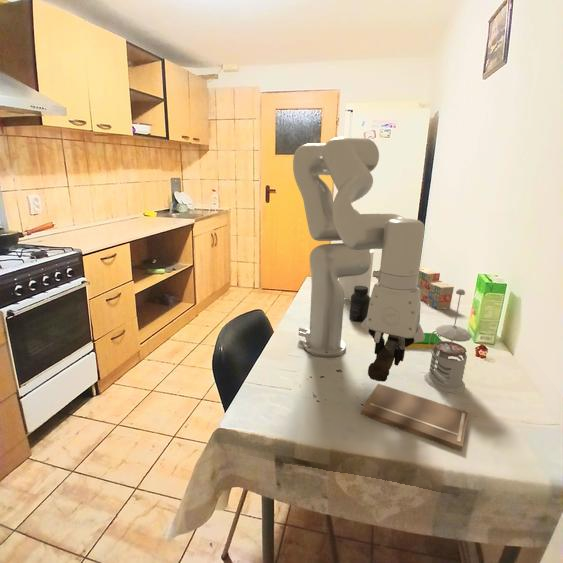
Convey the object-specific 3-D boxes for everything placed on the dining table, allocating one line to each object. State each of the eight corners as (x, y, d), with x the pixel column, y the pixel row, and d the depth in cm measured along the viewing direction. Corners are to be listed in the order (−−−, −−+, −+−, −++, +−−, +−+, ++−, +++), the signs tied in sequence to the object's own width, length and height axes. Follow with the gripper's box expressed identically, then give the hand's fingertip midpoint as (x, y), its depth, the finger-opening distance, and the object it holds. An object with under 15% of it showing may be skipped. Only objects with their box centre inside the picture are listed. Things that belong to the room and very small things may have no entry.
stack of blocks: (450, 309, 141) (455, 279, 137) (436, 310, 139) (441, 280, 135) (418, 291, 160) (422, 265, 157) (406, 292, 159) (410, 266, 155)
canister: (339, 299, 148) (343, 252, 142) (336, 289, 160) (339, 246, 155) (372, 300, 147) (377, 253, 141) (365, 290, 160) (370, 247, 154)
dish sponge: (391, 338, 115) (392, 331, 114) (434, 339, 115) (435, 332, 114) (397, 348, 108) (398, 341, 108) (443, 350, 108) (444, 343, 107)
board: (361, 414, 78) (361, 409, 77) (377, 387, 88) (378, 383, 87) (461, 451, 68) (462, 446, 67) (467, 416, 78) (468, 411, 77)
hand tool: (386, 385, 69) (389, 364, 67) (366, 379, 71) (368, 358, 69) (408, 347, 84) (411, 329, 83) (391, 343, 86) (393, 325, 85)
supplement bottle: (371, 321, 127) (375, 289, 123) (355, 323, 125) (358, 291, 121) (361, 314, 133) (363, 283, 129) (345, 316, 131) (347, 285, 127)
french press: (441, 395, 85) (459, 297, 78) (411, 370, 96) (425, 282, 88) (474, 389, 88) (495, 294, 80) (442, 365, 98) (457, 279, 91)
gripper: (353, 277, 73) (346, 357, 79) (438, 292, 65) (424, 379, 70) (365, 270, 79) (358, 344, 85) (444, 282, 71) (431, 363, 77)
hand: (388, 359), depth 78 cm, fingers closed on hand tool, 3 cm apart
